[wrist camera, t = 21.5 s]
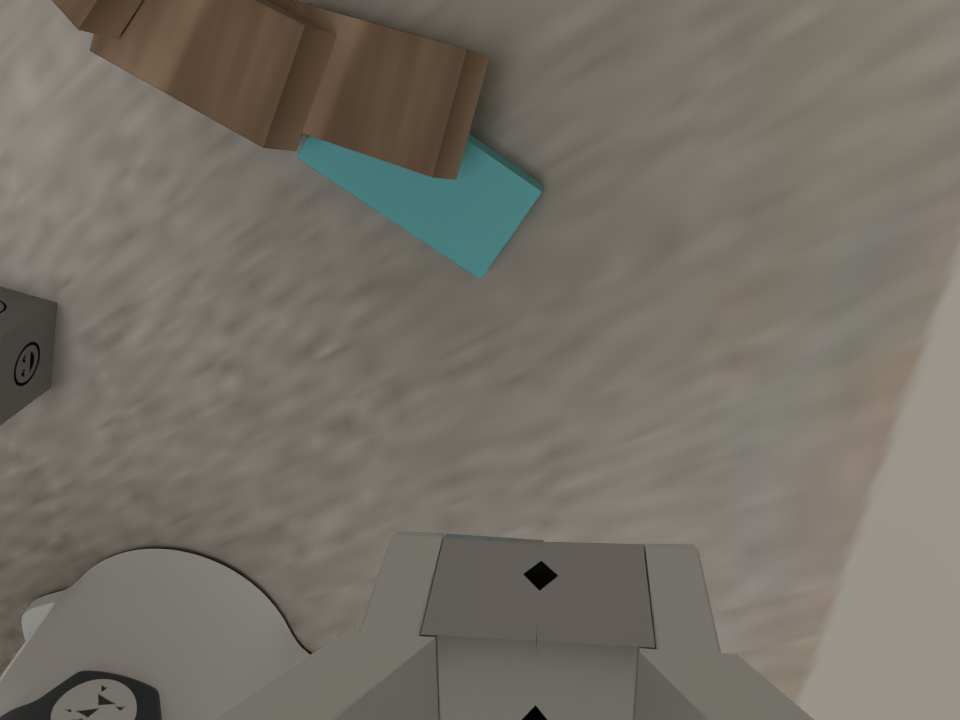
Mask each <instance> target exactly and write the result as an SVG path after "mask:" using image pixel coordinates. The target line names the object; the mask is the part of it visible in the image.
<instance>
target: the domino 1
mask: <svg viewBox="0 0 960 720" xmlns="http://www.w3.org/2000/svg"><path fill="white" fill-rule="evenodd" d="M52 1H53V2H54V3H55V4H56V5H57V6H58V8H59V9H60V10H61V11H62V12H63V13H64V14H65V15H66V16H67V17H68V19H69V20H70V21H71V22H72V23H73V24H74V25H75V26H76V27H77V29H78V30H82V31H86V32H90V33H94V34H98V35H103V36H107V37H111V38H115V39H118V37H119V36H120V34H121V33H122V31H123V30H124V28H125V27H126V25H127V24H128V22H129V21H130V19H131V18H132V16H133V15H134V13H135V12H136V10H137V8H138V7H139V5H140V4H141V2H142V1H143V0H52Z"/></svg>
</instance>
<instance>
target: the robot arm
mask: <svg viewBox="0 0 960 720" xmlns="http://www.w3.org/2000/svg"><path fill="white" fill-rule="evenodd" d="M543 541H544V540H532V539H517V538H502V537H487V536H472V535H457V534H446V536H445V535H444V534H442V533H424V532H397V533H396V534H395V535H393V536H392V537H391V539H390V542H389V545H388V548H387V551H386V554H385V556H384V559H383V562H382V565H381V568H380V571H379V574H378V577H377V580H376V583H375V586H374V589H373V592H372V595H371V597H370V600H369V603H368V606H367V609H366V612H365V615H364V618H363V621H362V624H361V627H360V630H359V633H357V632H343V633H342V634H340V635H339V636H337V637H336V638H334V639H333V640H331V641H330V642H328V643H327V644H325V645H324V646H323V647H321V648H320V649H318V650H317V651H315V652H314V653H312V654H311V655H310V654H309V653H308V652H306V651H305V650H304V649H303V648H301V646H300V645H299V644H298V643H297V641H296V640H295V638H294V637H293V635H292V633H291V631H290V629H289V628H288V626H287V624H286V622H285V620H284V619H283V617H282V616H281V614H280V613H279V611H278V610H277V609H276V607H275V606H274V605H273V604H272V602H271V601H270V600H269V599H268V598H267V597H266V596H265V595H264V594H263V593H262V592H261V591H260V590H259V589H258V588H257V587H256V586H254V585H253V584H252V583H251V582H249V581H248V580H247V579H245V578H244V577H242V576H241V575H239V574H238V573H236V572H235V571H233V570H231V569H229V568H227V567H226V566H224V565H221V564H219V563H217V562H215V561H212V560H210V559H207V558H204V557H202V556H199V555H195V554H191V553H187V552H182V551H176V550H168V549H141V550H134V551H128V552H124V553H121V554H118V555H115V556H112V557H110V558H107V559H105V560H103V561H101V562H100V563H98V564H96V565H95V566H93V567H92V568H91V569H89V570H88V571H87V572H86V573H85V574H84V575H83V576H82V577H81V578H80V579H79V580H78V581H77V582H75V583H74V584H73V585H72V586H71V587H69V588H67V589H66V590H63V591H59V592H55V593H52V594H48V595H45V596H42V597H40V598H38V599H36V600H34V601H33V602H32V603H31V604H30V605H29V606H28V608H27V609H26V611H25V612H24V614H23V615H22V618H21V625H22V630H23V634H24V639H25V643H24V644H23V645H22V647H21V648H20V650H19V651H18V652H17V654H16V655H15V657H14V658H13V659H12V661H11V662H10V664H9V665H8V667H7V668H6V669H5V671H4V672H3V674H2V675H1V677H0V720H814V719H813V718H812V717H810V716H809V715H808V714H807V713H806V712H804V711H803V710H802V709H801V708H800V707H799V706H797V705H796V704H795V703H794V702H793V701H791V700H790V699H789V698H788V697H787V696H786V695H784V694H783V693H782V692H781V691H780V690H779V689H777V688H776V687H775V686H774V685H773V684H771V683H770V682H769V681H768V680H767V679H766V678H764V677H763V676H762V675H761V674H760V673H758V672H757V671H756V670H755V669H754V668H753V667H751V666H750V665H749V664H748V663H747V662H745V661H744V660H743V659H742V658H741V657H740V656H738V655H737V654H724V653H721V650H720V645H719V641H718V636H717V632H716V627H715V623H714V618H713V614H712V609H711V605H710V600H709V596H708V591H707V587H706V582H705V578H704V573H703V569H702V564H701V560H700V555H699V551H698V549H697V548H696V547H695V546H694V545H693V544H612V543H572V542H543Z"/></svg>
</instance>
